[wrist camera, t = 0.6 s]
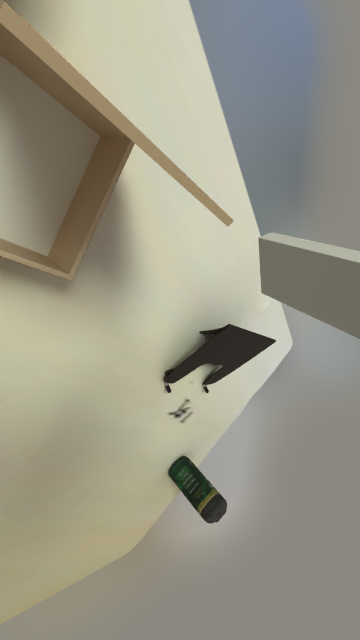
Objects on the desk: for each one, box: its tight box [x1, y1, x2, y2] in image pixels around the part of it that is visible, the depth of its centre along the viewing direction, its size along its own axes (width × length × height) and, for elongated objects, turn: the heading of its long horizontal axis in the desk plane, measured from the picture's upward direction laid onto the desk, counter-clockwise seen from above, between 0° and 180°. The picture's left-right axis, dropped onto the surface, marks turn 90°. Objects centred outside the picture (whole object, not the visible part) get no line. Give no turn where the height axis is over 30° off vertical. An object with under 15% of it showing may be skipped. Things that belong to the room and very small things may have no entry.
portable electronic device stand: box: [164, 324, 276, 393], centre depth 73 cm, size 23×23×9 cm
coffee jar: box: [169, 456, 227, 523], centre depth 89 cm, size 10×8×19 cm
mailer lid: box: [0, 0, 234, 226], centre depth 22 cm, size 16×18×1 cm
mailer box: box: [0, 23, 135, 281], centre depth 31 cm, size 16×18×8 cm
